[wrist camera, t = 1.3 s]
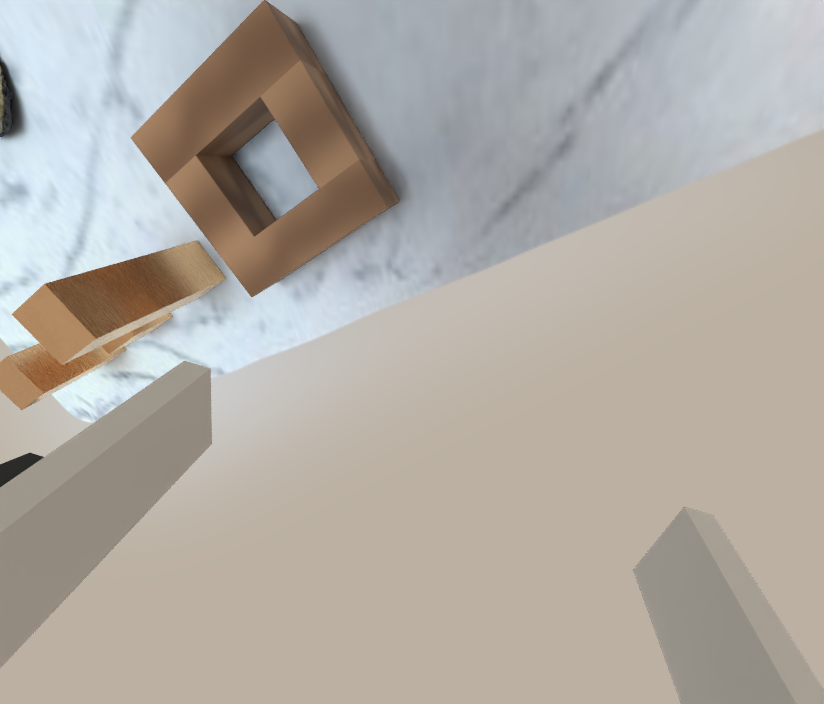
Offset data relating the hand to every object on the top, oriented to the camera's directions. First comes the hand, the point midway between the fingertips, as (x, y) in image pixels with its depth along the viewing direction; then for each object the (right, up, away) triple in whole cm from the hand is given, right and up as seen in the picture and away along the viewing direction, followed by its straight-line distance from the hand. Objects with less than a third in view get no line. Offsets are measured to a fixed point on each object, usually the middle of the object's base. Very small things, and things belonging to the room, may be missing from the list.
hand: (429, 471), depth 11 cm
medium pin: (-34, +4, +32) cm, 47 cm away
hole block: (-11, +18, +21) cm, 29 cm away
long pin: (-21, +11, +26) cm, 35 cm away
